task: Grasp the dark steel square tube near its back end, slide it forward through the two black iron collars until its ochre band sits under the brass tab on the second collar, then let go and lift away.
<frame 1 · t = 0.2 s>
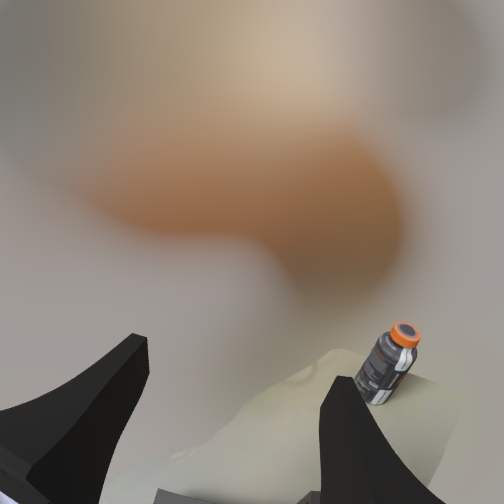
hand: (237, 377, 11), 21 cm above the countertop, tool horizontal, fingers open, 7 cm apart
pill bottle: (369, 391, 40), on the countertop
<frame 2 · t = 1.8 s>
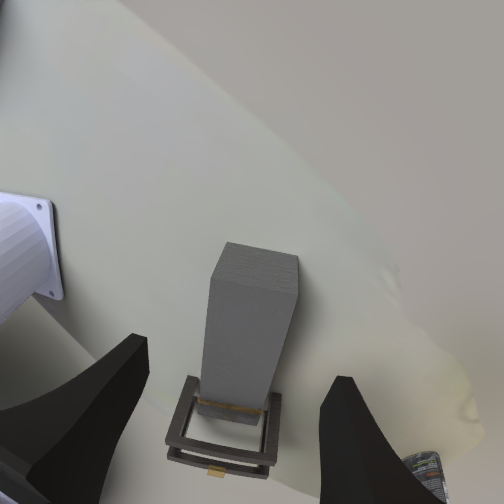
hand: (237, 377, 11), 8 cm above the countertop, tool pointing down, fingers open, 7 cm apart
collar 2: (230, 407, 24), on the countertop
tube: (247, 324, 20), on the countertop
pill bottle: (415, 460, 28), on the countertop
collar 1: (233, 388, 23), on the countertop
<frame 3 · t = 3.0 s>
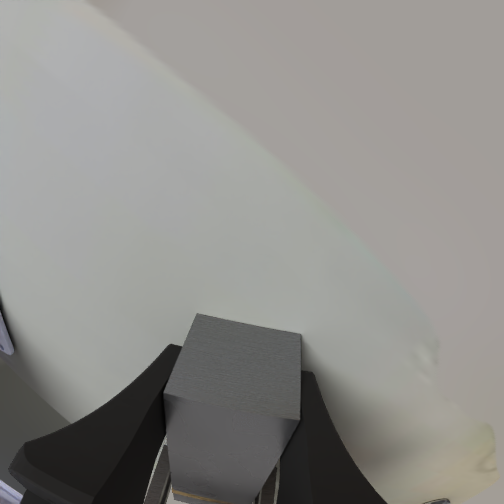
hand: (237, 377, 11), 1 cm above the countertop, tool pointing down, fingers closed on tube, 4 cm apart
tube: (231, 407, 14), on the countertop, touching gripper
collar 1: (219, 461, 17), on the countertop
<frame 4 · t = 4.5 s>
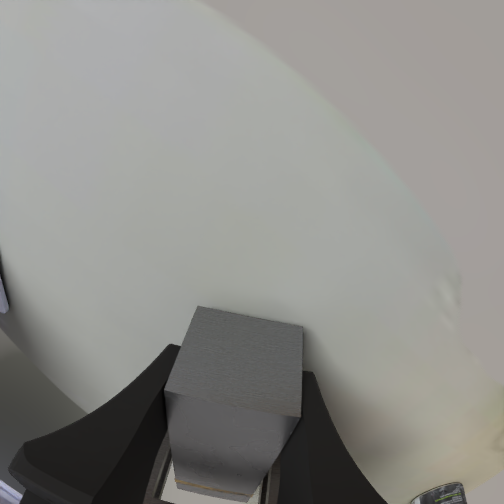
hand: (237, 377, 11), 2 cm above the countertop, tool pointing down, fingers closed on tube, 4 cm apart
collar 2: (221, 450, 18), on the countertop
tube: (233, 397, 14), on the countertop, touching gripper
pill bottle: (436, 492, 21), on the countertop
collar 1: (225, 432, 17), on the countertop
when the fingers open (2 cm above the countertop, at t = 6.2 s): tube stays where it is, on the countertop.
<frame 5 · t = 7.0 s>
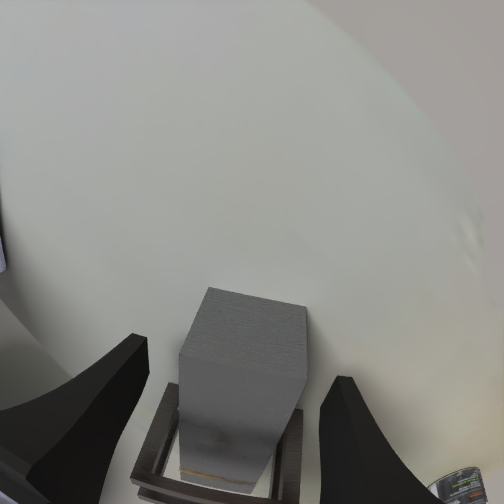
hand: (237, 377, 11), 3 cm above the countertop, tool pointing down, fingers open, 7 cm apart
collar 2: (229, 426, 17), on the countertop
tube: (238, 383, 15), on the countertop
pill bottle: (452, 478, 20), on the countertop
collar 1: (234, 402, 16), on the countertop
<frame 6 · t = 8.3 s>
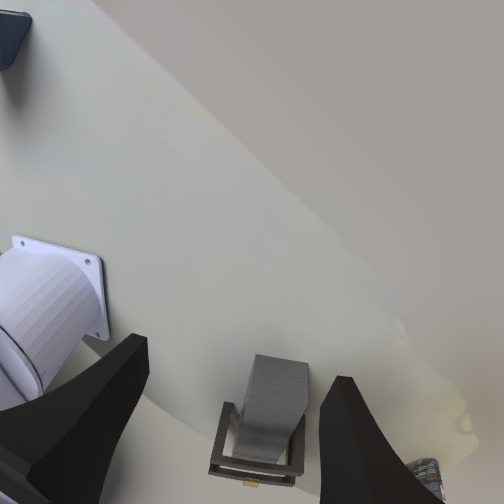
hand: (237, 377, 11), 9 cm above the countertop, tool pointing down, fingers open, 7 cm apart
collar 2: (258, 425, 27), on the countertop
vaping device: (15, 39, 14), on the countertop
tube: (267, 400, 25), on the countertop
pill bottle: (416, 466, 31), on the countertop
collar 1: (264, 411, 26), on the countertop
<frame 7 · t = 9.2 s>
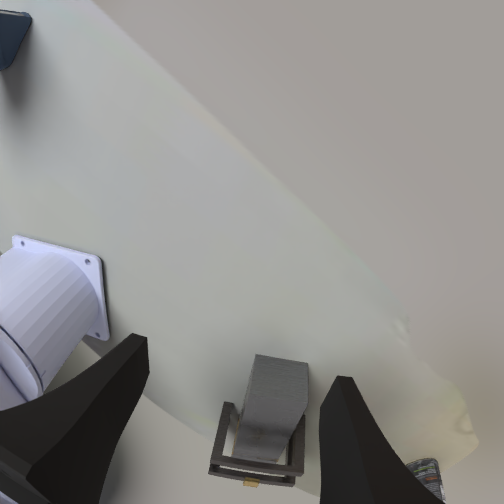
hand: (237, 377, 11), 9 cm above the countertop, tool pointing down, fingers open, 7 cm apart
collar 2: (258, 425, 27), on the countertop
vaping device: (15, 39, 14), on the countertop
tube: (267, 400, 25), on the countertop
pill bottle: (416, 466, 31), on the countertop
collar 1: (264, 411, 26), on the countertop
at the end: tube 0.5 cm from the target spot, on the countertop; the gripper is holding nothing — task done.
